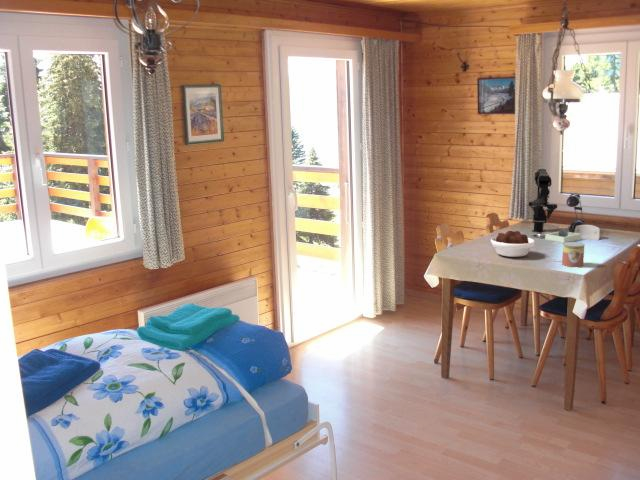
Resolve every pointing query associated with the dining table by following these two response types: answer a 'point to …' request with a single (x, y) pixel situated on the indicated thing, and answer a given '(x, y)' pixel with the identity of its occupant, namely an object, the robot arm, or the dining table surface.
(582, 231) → the white arched block
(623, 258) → the dining table surface
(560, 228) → the strut
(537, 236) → the stud
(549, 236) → the bin
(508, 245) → the bowl of brown food
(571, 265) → the canned food
